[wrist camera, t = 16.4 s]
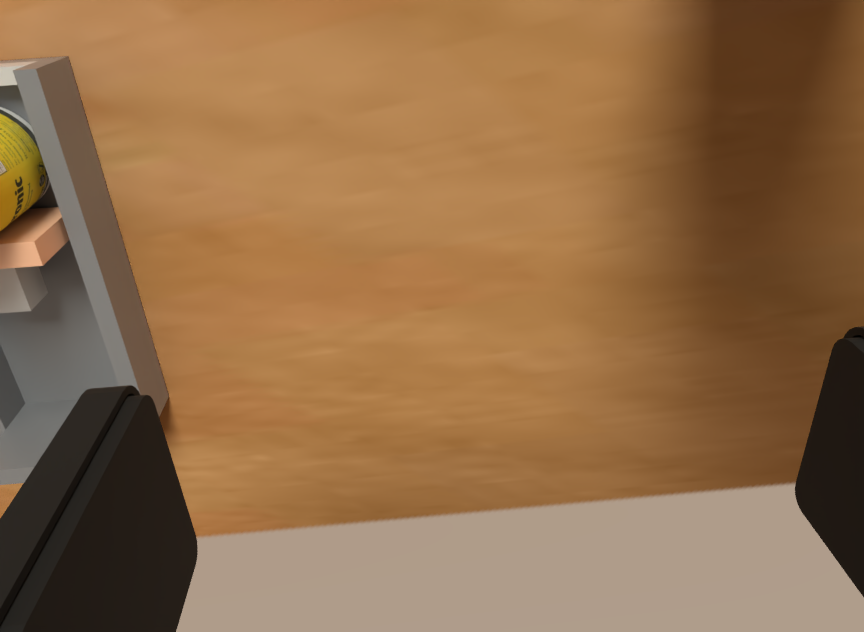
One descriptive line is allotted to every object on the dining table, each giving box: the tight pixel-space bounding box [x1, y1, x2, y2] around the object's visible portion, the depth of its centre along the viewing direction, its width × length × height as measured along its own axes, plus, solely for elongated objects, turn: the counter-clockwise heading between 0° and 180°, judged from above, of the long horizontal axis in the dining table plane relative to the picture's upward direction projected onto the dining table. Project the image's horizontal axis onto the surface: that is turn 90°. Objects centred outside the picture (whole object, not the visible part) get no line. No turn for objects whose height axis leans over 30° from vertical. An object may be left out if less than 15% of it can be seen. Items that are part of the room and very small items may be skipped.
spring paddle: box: [0, 207, 70, 313], centre depth 34 cm, size 4×6×5 cm, turn 93°
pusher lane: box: [0, 56, 169, 485], centre depth 35 cm, size 20×9×7 cm, turn 3°
